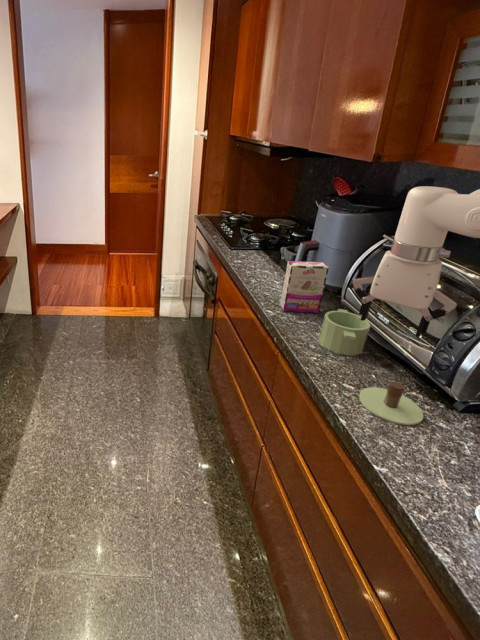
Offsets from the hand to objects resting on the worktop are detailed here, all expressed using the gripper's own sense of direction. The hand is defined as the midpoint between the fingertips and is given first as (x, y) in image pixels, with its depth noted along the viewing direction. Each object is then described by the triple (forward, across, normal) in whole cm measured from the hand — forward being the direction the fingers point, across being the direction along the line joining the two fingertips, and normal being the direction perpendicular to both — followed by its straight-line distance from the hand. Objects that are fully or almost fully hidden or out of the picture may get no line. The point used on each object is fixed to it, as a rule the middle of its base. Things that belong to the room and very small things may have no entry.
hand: (389, 326), depth 83 cm
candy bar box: (+19, +27, -34) cm, 47 cm away
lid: (+18, -4, +1) cm, 19 cm away
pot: (+19, +10, -19) cm, 29 cm away
